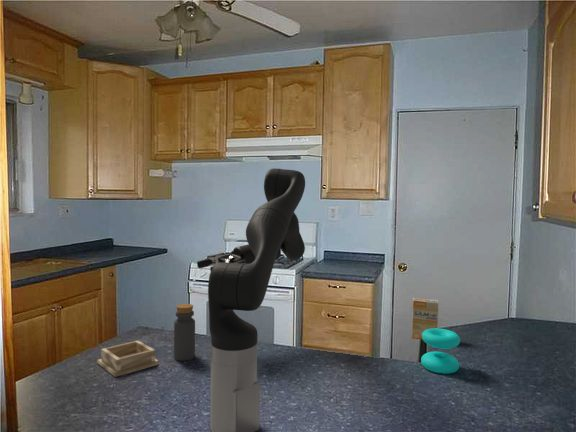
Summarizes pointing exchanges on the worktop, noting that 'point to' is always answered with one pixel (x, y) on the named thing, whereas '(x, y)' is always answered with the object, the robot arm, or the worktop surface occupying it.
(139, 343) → the bottle holder
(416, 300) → the supplement box
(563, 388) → the worktop surface
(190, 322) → the bottle
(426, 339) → the donuts
